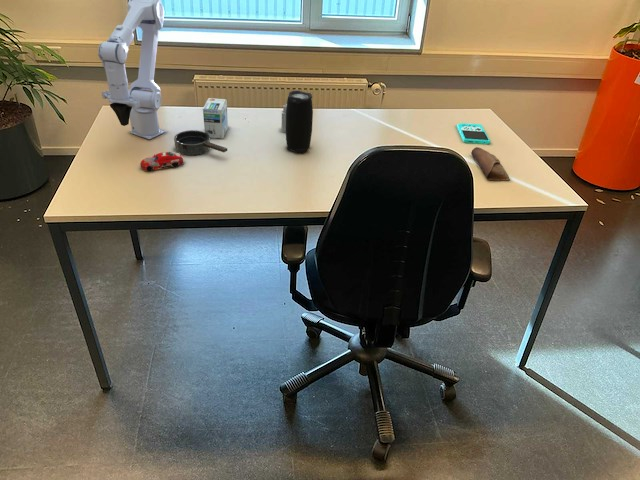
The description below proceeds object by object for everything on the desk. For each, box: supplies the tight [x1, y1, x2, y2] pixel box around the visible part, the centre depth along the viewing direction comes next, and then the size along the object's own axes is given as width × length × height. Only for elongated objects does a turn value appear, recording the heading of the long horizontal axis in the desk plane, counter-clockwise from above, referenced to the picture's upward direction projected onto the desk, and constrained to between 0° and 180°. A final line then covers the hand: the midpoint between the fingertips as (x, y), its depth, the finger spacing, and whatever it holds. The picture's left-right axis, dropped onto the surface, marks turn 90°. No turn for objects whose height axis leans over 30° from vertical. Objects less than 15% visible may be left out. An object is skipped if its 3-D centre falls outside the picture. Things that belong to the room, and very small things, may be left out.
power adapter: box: [280, 101, 287, 133], centre depth 190 cm, size 3×5×12 cm, turn 92°
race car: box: [139, 151, 185, 172], centre depth 165 cm, size 13×5×4 cm, turn 114°
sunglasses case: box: [470, 146, 511, 182], centre depth 177 cm, size 18×7×7 cm
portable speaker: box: [284, 90, 314, 155], centre depth 176 cm, size 9×9×20 cm
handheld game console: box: [456, 122, 491, 145], centre depth 200 cm, size 10×16×1 cm, turn 178°
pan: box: [173, 129, 211, 156], centre depth 176 cm, size 12×12×4 cm
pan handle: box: [204, 141, 228, 153], centre depth 172 cm, size 8×2×1 cm, turn 60°
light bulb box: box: [202, 97, 229, 139], centre depth 186 cm, size 11×7×11 cm, turn 179°
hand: (124, 124), depth 168 cm, fingers closed
